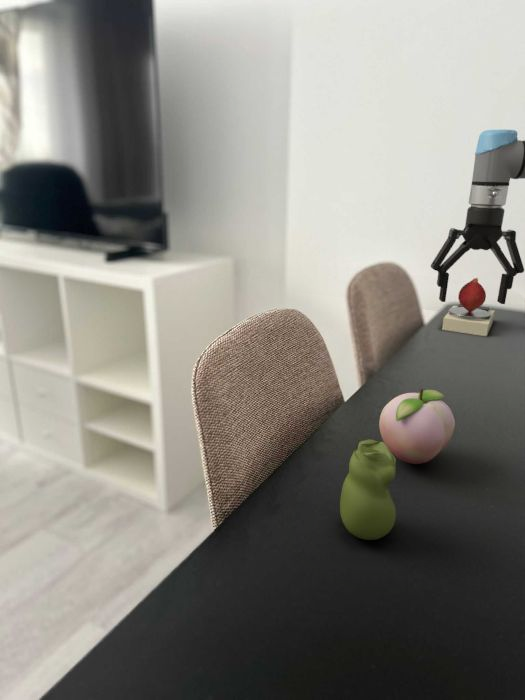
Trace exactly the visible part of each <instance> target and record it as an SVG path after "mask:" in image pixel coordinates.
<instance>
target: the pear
mask: <svg viewBox="0 0 525 700" xmlns="http://www.w3.org/2000/svg"><path fill="white" fill-rule="evenodd" d="M396 461H397V460H396V456H394V455H393V454H392V453H391V451H390V450H389V449H388V447H387V446H386V444H385V443H384V441H377V440H374V439H372V438H371V439H370V438H369V439H365V440H361V441H359V443H358V446H357V449H354V451H353V453H352V455H351V456H350V459H349V463H348V473H347V475H346V477H345V479H344V480H343V484H342V487H341V493H340V501H339V502H340V503H339V511H340V513H339V514H340V517H341V521H342V523H343V526H344V527H345V529H346V530H347V531H348V532H349V533H350V534H351V535H353V536H354V537H356V538H358V539H361V540H365V541H374V540H380V539H381V538H383V537H385V536H387V534H389V533H390V532H391V530H393V527H394V525H395V523H396V518H397V511H396V506H395V502H394V501H393V499H392V497H391V493H390V491H389V489H388V486H389V485H390V484H391V483H392V482H393V481H394V479H395V477H396V473H397V471H396V468H397V467H396V465H397V464H396V463H397V462H396Z"/></svg>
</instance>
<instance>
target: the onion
mask: <svg viewBox="0 0 525 700" xmlns="http://www.w3.org/2000/svg"><path fill="white" fill-rule="evenodd" d="M486 299H487V294H486V290H485V287H483V286H482V285H481V283H480V282H479V278H478V277H475V278H473V279H471V280H470V281H469V282H467V283H465V284H464V285H463V286H462V287H461V288H460V290H459V292H458V301H459V304H461V305H462V306H463V307H464V308H465V309H466V310H467V311H469V312H472V311H474V310H475V309H477V308H478V307H482V305H483V304H484V303H485V301H486Z"/></svg>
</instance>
